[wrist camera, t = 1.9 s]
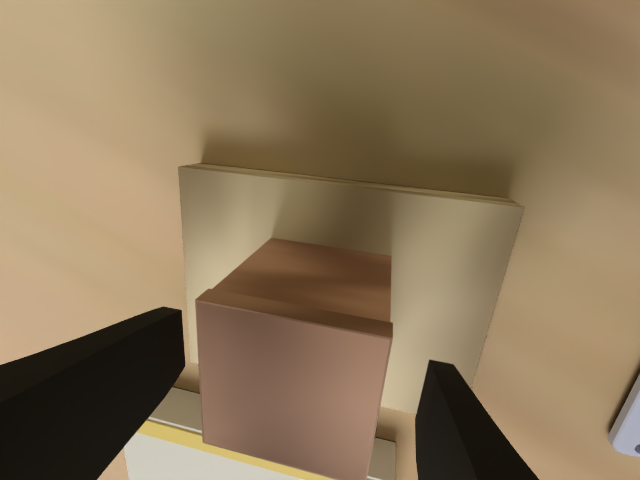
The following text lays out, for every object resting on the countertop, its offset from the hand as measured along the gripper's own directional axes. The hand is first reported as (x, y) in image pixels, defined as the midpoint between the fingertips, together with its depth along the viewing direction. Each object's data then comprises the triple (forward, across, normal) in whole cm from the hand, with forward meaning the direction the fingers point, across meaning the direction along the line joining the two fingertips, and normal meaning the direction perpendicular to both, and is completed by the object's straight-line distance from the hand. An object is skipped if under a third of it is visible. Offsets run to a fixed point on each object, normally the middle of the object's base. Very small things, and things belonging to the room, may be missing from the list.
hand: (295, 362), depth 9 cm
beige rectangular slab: (+5, 0, 0) cm, 5 cm away
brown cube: (+4, 0, 0) cm, 4 cm away
